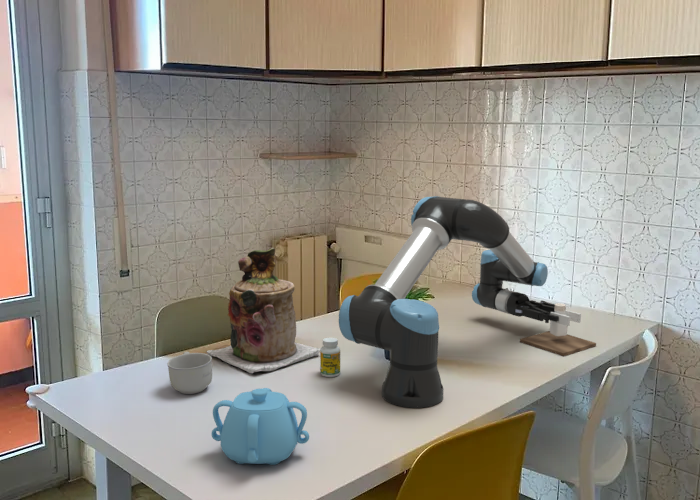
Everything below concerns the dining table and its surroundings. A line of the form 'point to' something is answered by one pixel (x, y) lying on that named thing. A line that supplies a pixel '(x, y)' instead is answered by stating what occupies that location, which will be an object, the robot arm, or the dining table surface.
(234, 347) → the cookie jar
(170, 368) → the teacup
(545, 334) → the board
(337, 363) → the supplement bottle
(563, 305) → the pepper shaker
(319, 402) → the dining table surface
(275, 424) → the decorative pot
